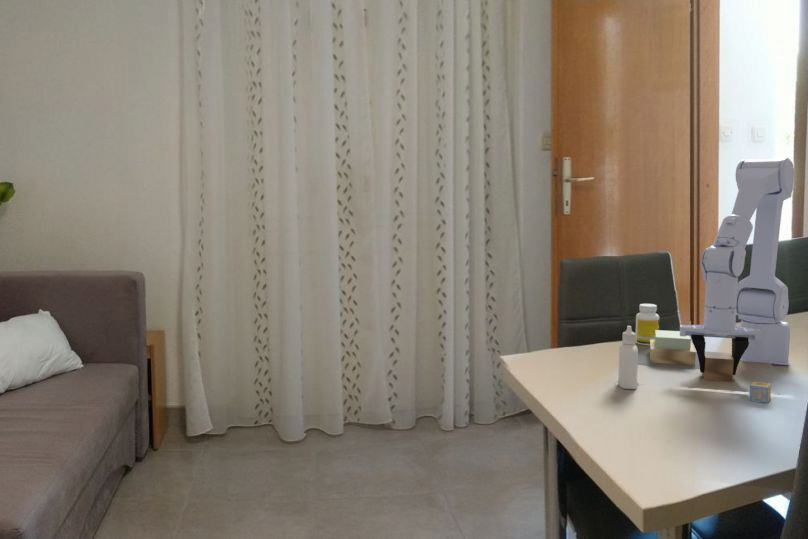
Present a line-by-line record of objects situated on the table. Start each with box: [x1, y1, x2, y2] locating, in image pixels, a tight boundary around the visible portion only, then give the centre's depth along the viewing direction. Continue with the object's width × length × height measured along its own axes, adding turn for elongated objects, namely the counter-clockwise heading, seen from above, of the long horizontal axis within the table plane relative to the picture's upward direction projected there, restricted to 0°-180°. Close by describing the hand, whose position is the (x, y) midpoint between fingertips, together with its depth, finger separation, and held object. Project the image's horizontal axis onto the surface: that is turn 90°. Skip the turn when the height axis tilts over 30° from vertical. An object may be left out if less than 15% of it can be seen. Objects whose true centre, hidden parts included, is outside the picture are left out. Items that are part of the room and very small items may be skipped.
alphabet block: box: [749, 381, 772, 404], centre depth 121 cm, size 3×3×3 cm
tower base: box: [649, 339, 696, 365], centre depth 147 cm, size 9×9×3 cm
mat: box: [638, 348, 700, 370], centre depth 147 cm, size 16×14×1 cm
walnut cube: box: [702, 351, 734, 383], centre depth 133 cm, size 5×5×5 cm
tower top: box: [655, 329, 692, 350], centre depth 146 cm, size 7×7×2 cm
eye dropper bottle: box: [617, 325, 639, 390], centre depth 129 cm, size 4×6×12 cm
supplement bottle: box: [634, 303, 660, 346], centre depth 161 cm, size 5×5×10 cm
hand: (717, 372), depth 133 cm, fingers closed on walnut cube, 5 cm apart
